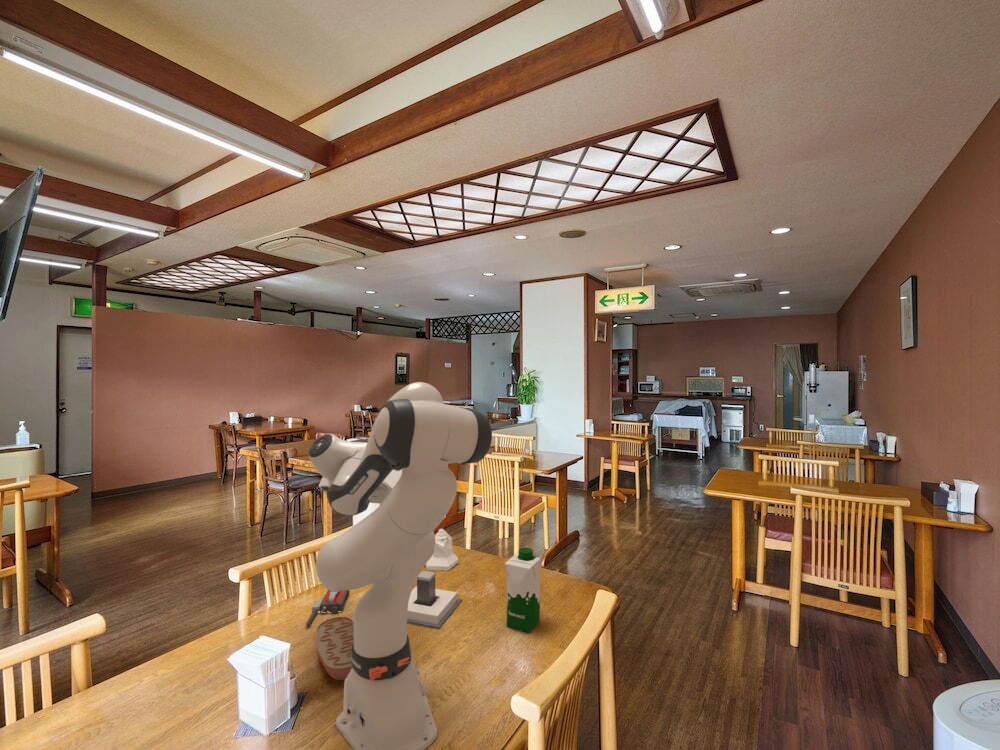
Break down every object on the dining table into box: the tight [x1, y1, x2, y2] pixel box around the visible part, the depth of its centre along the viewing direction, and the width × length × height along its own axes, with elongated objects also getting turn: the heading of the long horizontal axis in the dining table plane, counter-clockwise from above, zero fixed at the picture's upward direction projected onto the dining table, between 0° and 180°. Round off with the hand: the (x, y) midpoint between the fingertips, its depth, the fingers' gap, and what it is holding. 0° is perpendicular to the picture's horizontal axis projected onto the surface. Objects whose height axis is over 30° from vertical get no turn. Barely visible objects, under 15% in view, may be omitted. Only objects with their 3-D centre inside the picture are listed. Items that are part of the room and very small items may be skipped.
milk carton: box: [504, 547, 541, 634], centre depth 129 cm, size 9×9×20 cm
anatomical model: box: [315, 616, 353, 681], centre depth 114 cm, size 23×10×5 cm, turn 29°
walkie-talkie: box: [305, 589, 351, 627], centre depth 138 cm, size 9×4×20 cm
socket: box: [407, 585, 463, 630], centre depth 137 cm, size 16×16×3 cm
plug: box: [416, 570, 436, 607], centre depth 137 cm, size 4×4×10 cm
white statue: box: [424, 528, 459, 572], centre depth 169 cm, size 12×15×14 cm
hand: (371, 504), depth 133 cm, fingers open, 8 cm apart
